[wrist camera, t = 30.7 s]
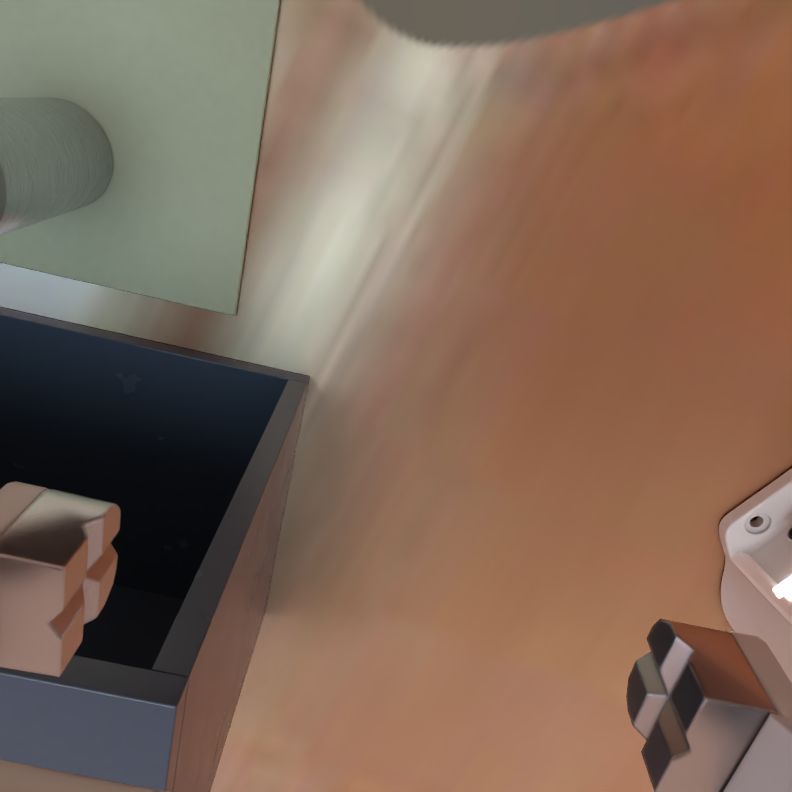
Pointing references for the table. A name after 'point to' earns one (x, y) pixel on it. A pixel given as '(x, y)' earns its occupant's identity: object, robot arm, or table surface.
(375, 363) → the table surface
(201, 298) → the desk mat
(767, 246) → the table surface
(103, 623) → the cupboard
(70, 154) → the steel tumbler
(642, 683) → the robot arm
